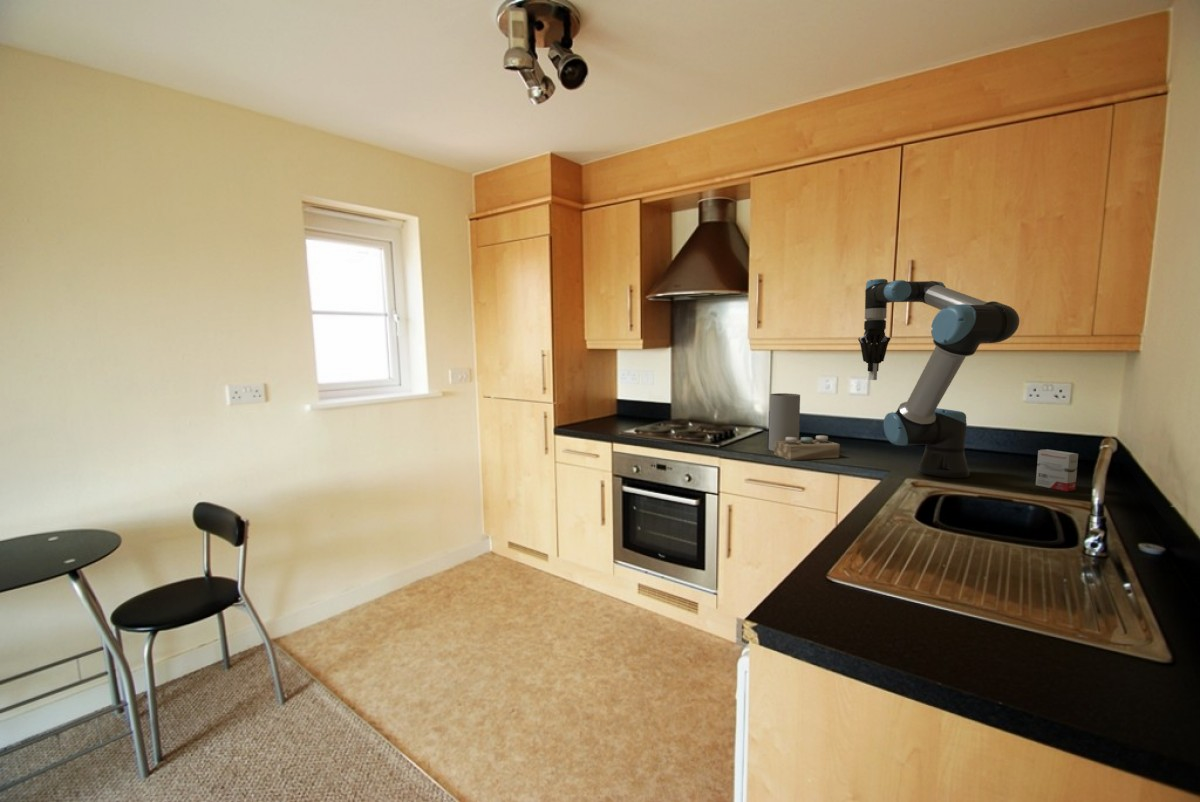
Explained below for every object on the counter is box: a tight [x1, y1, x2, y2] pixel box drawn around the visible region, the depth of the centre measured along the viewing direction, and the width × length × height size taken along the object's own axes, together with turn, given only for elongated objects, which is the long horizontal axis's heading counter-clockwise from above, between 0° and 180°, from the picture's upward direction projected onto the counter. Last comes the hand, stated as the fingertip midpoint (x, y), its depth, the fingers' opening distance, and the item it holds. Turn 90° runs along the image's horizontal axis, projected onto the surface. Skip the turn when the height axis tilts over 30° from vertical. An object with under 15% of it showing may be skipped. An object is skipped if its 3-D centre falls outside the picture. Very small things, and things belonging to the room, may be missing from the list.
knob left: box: [785, 437, 797, 445], centre depth 209 cm, size 5×5×8 cm
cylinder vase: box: [768, 392, 801, 452], centre depth 223 cm, size 12×12×25 cm
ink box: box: [1035, 449, 1079, 492], centre depth 161 cm, size 8×5×12 cm, turn 23°
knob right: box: [815, 434, 829, 443], centre depth 212 cm, size 5×5×8 cm
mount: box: [773, 438, 841, 461], centre depth 211 cm, size 12×22×6 cm, turn 101°
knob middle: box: [800, 436, 813, 444], centre depth 211 cm, size 5×5×8 cm
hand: (872, 379), depth 201 cm, fingers closed
